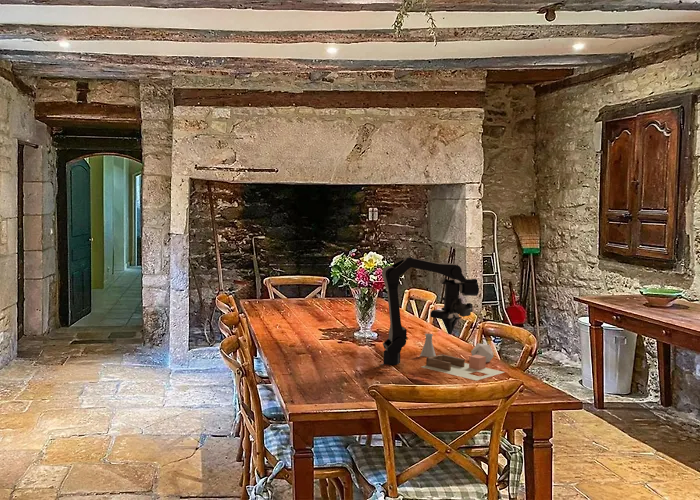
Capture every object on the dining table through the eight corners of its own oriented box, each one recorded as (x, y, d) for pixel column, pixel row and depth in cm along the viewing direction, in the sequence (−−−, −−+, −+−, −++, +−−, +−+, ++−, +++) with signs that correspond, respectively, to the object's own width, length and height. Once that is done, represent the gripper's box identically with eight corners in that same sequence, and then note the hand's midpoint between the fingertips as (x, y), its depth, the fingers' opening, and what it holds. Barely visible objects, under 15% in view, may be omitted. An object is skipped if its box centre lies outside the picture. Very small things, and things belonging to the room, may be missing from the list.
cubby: (448, 370, 266) (449, 363, 266) (426, 365, 274) (426, 357, 274) (464, 366, 273) (464, 359, 273) (441, 361, 281) (442, 354, 281)
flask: (438, 356, 295) (438, 333, 294) (435, 360, 288) (436, 336, 287) (421, 355, 297) (421, 332, 296) (418, 359, 290) (418, 335, 289)
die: (469, 361, 290) (465, 346, 284) (485, 350, 292) (482, 335, 286) (482, 373, 283) (478, 357, 278) (498, 361, 286) (495, 345, 280)
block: (478, 369, 269) (479, 358, 268) (469, 367, 272) (469, 356, 272) (485, 368, 272) (485, 356, 272) (475, 365, 275) (476, 354, 275)
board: (476, 383, 253) (476, 380, 253) (420, 369, 271) (420, 366, 271) (505, 375, 266) (505, 372, 266) (450, 362, 285) (450, 359, 285)
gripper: (452, 299, 265) (450, 340, 266) (482, 296, 278) (480, 335, 279) (430, 295, 273) (428, 335, 275) (460, 292, 286) (458, 330, 287)
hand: (449, 334), depth 279 cm, fingers closed
